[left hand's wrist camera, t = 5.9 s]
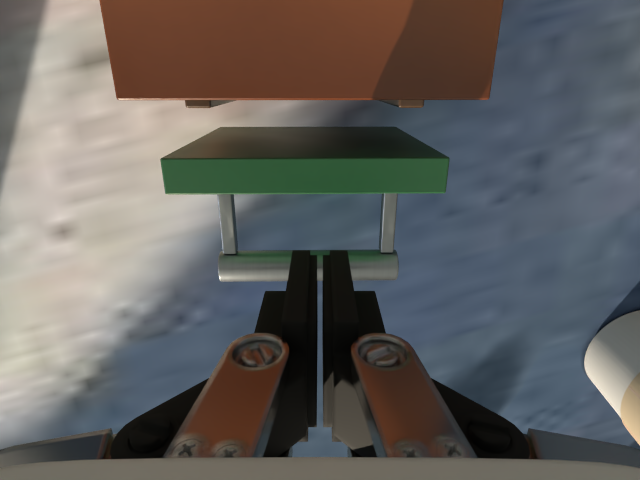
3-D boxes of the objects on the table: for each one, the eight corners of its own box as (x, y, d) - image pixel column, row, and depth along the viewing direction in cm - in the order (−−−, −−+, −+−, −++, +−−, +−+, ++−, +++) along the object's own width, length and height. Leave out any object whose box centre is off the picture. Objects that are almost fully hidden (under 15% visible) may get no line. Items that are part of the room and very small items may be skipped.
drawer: (388, 240, 24) (430, 328, 15) (230, 241, 24) (185, 331, 15) (422, -270, 16) (546, -663, 8) (184, -273, 16) (37, -678, 7)
